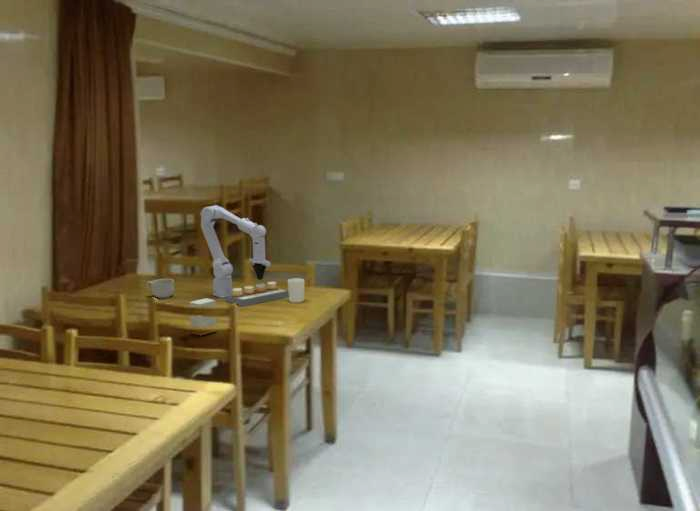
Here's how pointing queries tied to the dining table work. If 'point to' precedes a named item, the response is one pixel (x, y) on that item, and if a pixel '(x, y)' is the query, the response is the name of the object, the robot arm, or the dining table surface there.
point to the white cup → (296, 290)
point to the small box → (200, 320)
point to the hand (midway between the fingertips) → (260, 279)
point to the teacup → (161, 287)
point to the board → (257, 297)
